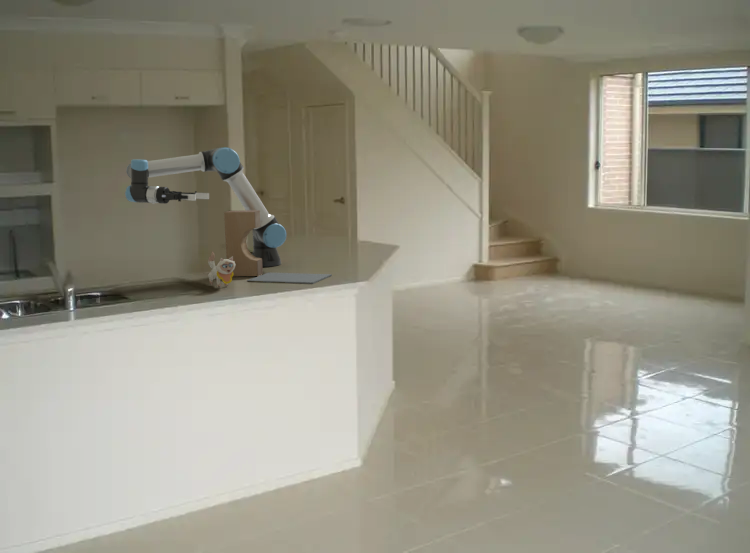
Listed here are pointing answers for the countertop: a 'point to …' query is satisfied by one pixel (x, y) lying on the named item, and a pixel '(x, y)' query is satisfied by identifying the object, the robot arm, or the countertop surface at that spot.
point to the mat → (291, 278)
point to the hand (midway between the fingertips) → (202, 196)
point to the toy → (221, 270)
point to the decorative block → (242, 241)
